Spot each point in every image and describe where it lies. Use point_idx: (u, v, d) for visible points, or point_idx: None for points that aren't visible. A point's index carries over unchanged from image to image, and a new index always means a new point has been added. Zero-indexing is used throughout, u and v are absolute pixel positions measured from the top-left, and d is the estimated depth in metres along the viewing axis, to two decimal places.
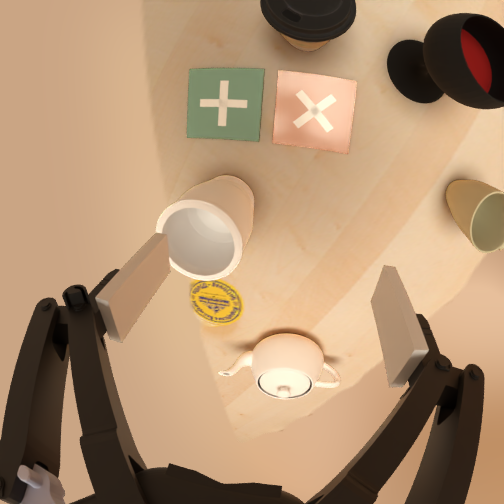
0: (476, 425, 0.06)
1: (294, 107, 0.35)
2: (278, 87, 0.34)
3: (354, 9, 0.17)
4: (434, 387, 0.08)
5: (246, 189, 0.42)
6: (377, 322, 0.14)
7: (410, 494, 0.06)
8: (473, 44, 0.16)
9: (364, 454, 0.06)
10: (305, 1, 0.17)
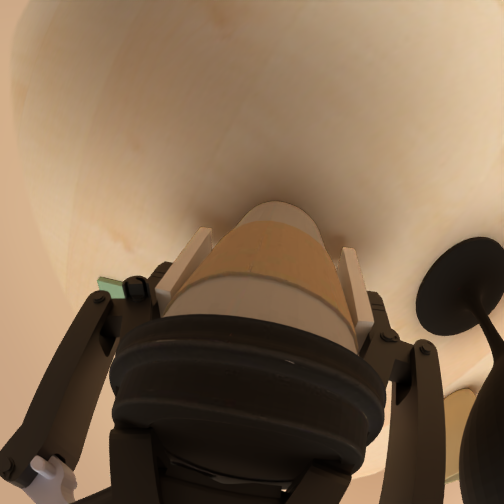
0: (438, 401, 0.07)
1: None
2: None
3: None
4: (384, 360, 0.09)
5: None
6: None
7: (385, 478, 0.07)
8: None
9: None
10: (225, 464, 0.07)
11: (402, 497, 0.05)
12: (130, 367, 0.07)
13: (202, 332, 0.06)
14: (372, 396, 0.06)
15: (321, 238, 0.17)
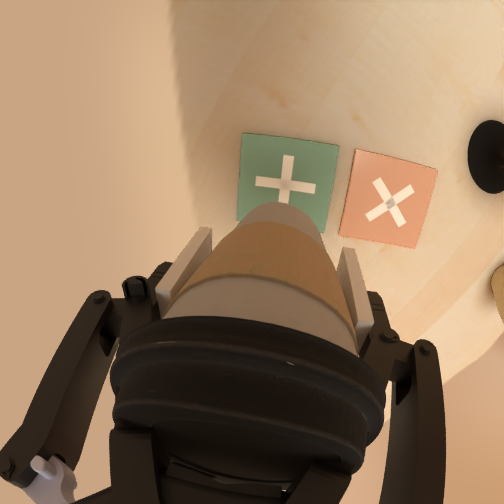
0: (438, 401, 0.07)
1: (369, 197, 0.31)
2: (354, 171, 0.30)
3: None
4: (384, 360, 0.09)
5: None
6: None
7: (385, 478, 0.07)
8: None
9: None
10: (225, 464, 0.07)
11: (402, 497, 0.05)
12: (131, 368, 0.07)
13: (202, 333, 0.06)
14: (372, 397, 0.06)
15: (321, 239, 0.17)
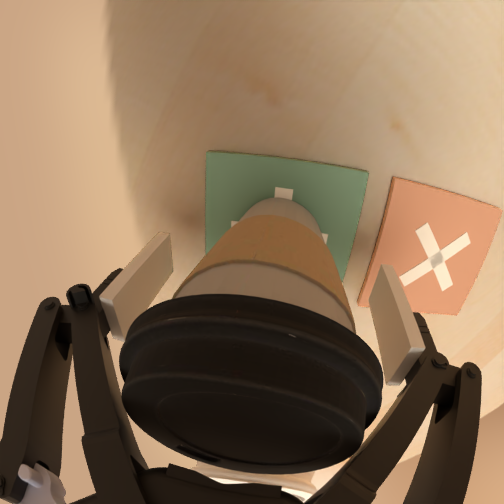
0: (474, 424, 0.06)
1: (408, 253, 0.19)
2: (389, 214, 0.18)
3: None
4: (431, 385, 0.08)
5: None
6: (374, 320, 0.14)
7: (409, 493, 0.06)
8: None
9: (362, 453, 0.06)
10: (229, 445, 0.08)
11: None
12: (141, 348, 0.07)
13: (211, 310, 0.07)
14: (369, 372, 0.06)
15: (320, 232, 0.18)
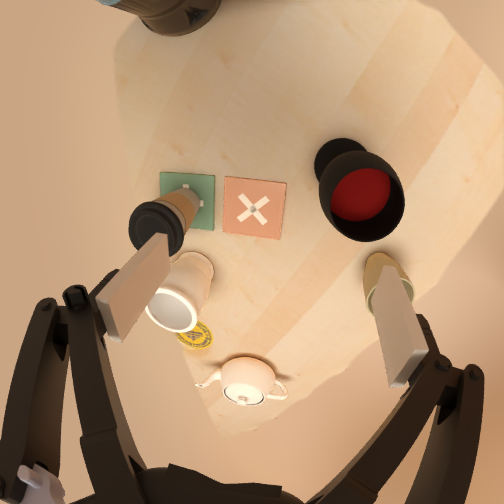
0: (476, 426, 0.06)
1: (237, 206, 0.52)
2: (225, 191, 0.50)
3: (179, 237, 0.40)
4: (434, 387, 0.08)
5: (206, 263, 0.58)
6: (377, 322, 0.14)
7: (410, 494, 0.06)
8: None
9: (364, 454, 0.06)
10: None
11: None
12: (134, 214, 0.40)
13: (146, 203, 0.39)
14: (171, 214, 0.39)
15: (195, 198, 0.50)
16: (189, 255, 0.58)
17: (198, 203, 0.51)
